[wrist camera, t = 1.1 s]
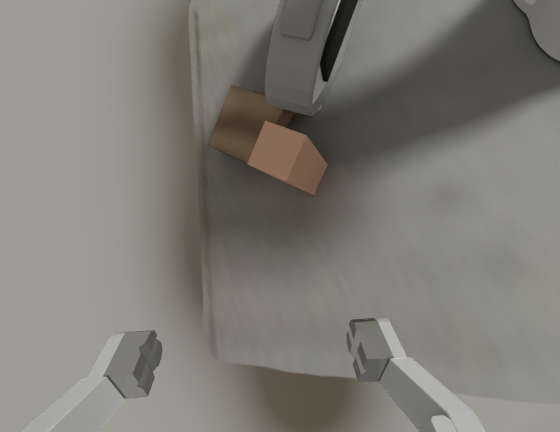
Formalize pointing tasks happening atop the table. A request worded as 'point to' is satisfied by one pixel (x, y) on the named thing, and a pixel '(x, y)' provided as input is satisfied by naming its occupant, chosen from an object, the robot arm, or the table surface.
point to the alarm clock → (307, 51)
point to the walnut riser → (244, 122)
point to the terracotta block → (288, 157)
